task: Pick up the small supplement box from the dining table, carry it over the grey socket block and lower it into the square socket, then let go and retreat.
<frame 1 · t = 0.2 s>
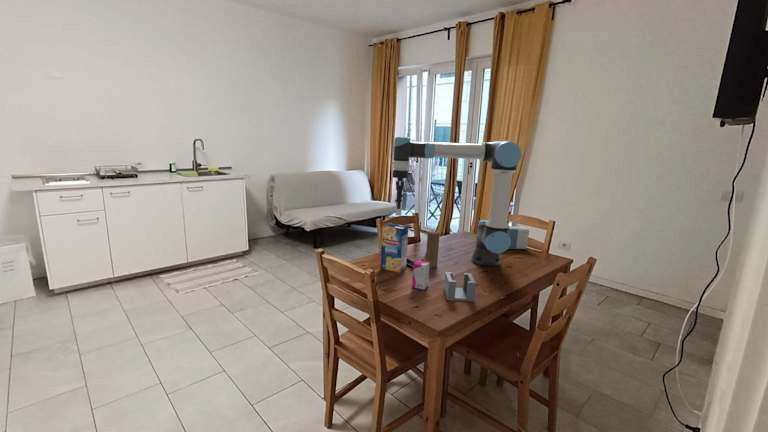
hand: (398, 212, 182), 28 cm above the table, tool pointing down, fingers open, 13 cm apart
supplement box: (419, 287, 163), on the table
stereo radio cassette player: (508, 248, 229), on the table
beverage box: (393, 268, 184), on the table
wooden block: (428, 267, 189), on the table
socket block: (458, 295, 156), on the table
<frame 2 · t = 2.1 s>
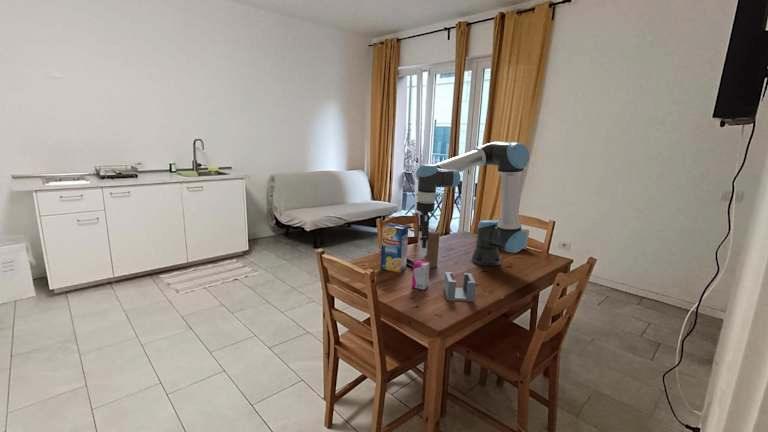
hand: (422, 250, 159), 17 cm above the table, tool pointing down, fingers open, 13 cm apart
nothing on the table moved.
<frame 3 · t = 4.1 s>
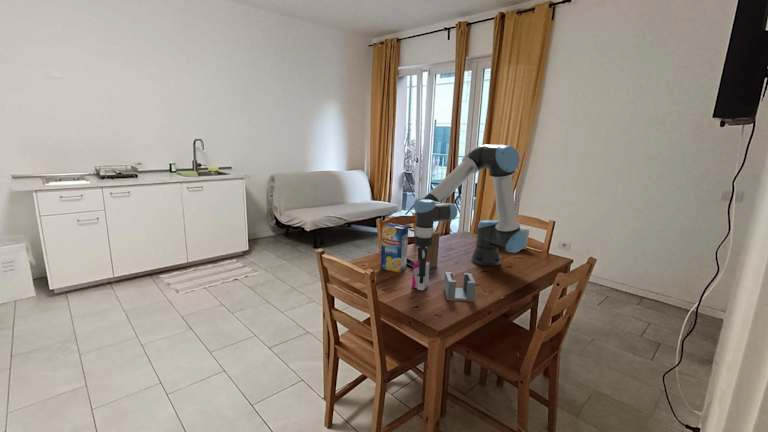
hand: (420, 285, 162), 1 cm above the table, tool pointing down, fingers closed on supplement box, 7 cm apart
supplement box: (419, 287, 163), on the table, touching gripper
everything else where it was.
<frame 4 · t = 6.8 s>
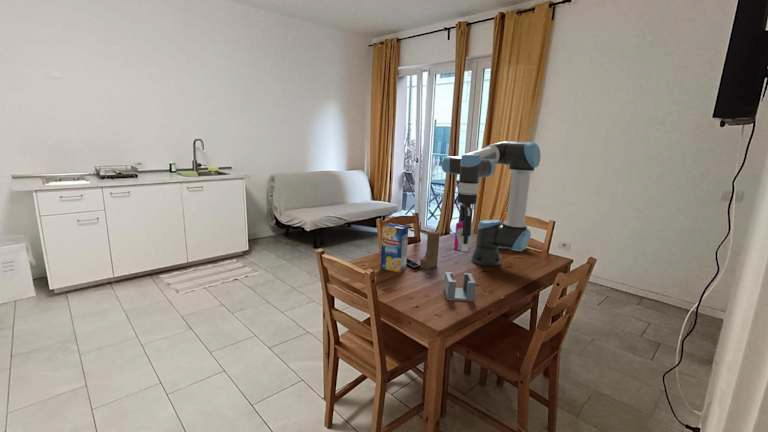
hand: (462, 248, 152), 21 cm above the table, tool pointing down, fingers closed on supplement box, 7 cm apart
supplement box: (462, 250, 152), point 20 cm above the table, touching gripper
everything else where it was.
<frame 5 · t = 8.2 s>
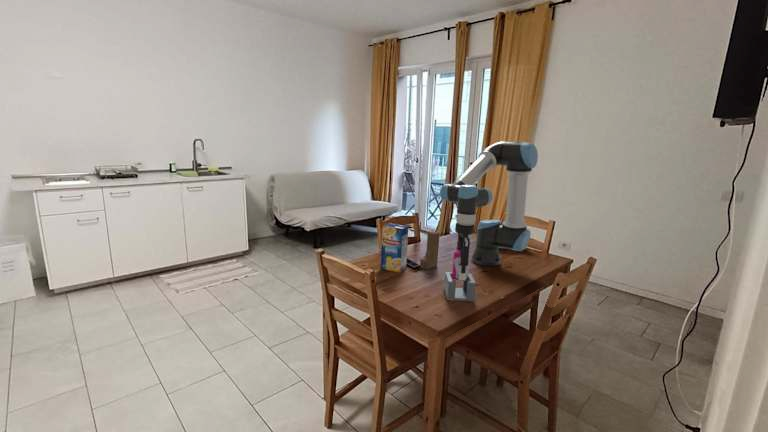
hand: (460, 276, 154), 8 cm above the table, tool pointing down, fingers closed on supplement box, 7 cm apart
supplement box: (459, 278, 155), point 8 cm above the table, touching gripper
everything else where it was.
when the fingers open (4 cm above the table, at t = 9.5 s): supplement box drops 2 cm, point 1 cm above the table.
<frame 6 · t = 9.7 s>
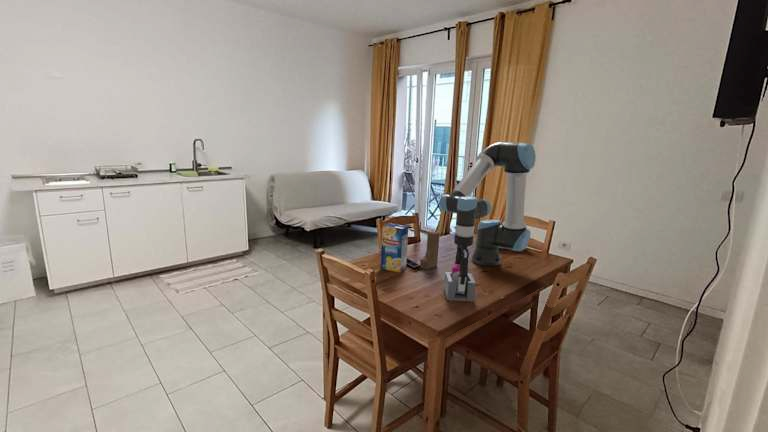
hand: (459, 286, 155), 4 cm above the table, tool pointing down, fingers open, 8 cm apart
supplement box: (458, 292, 157), point 1 cm above the table, touching gripper
everything else where it was.
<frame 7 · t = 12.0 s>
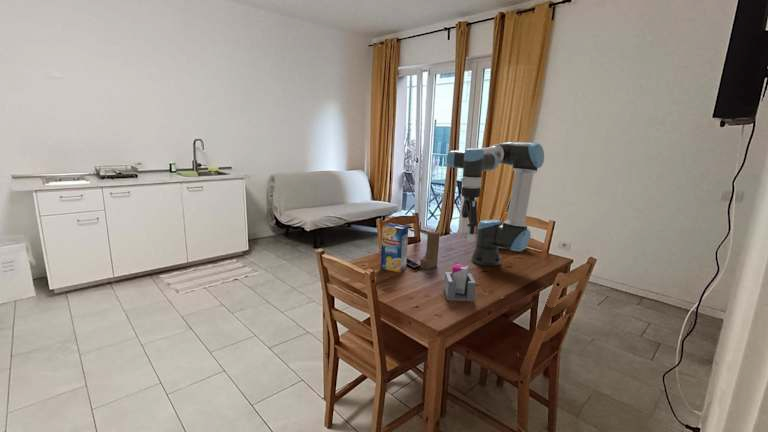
hand: (467, 236, 156), 24 cm above the table, tool pointing down, fingers open, 13 cm apart
supplement box: (458, 292, 157), point 1 cm above the table, touching socket block
everything else where it was.
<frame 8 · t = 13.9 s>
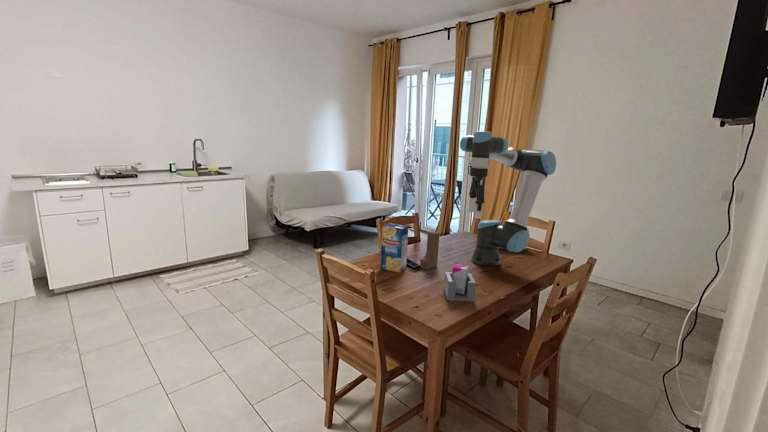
hand: (474, 215, 165), 32 cm above the table, tool pointing down, fingers open, 13 cm apart
nothing on the table moved.
at the end: supplement box 1.1 cm off-centre on the socket block, point 0.8 cm above the socket block's base; supplement box tilted 0°; the gripper is holding nothing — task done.
